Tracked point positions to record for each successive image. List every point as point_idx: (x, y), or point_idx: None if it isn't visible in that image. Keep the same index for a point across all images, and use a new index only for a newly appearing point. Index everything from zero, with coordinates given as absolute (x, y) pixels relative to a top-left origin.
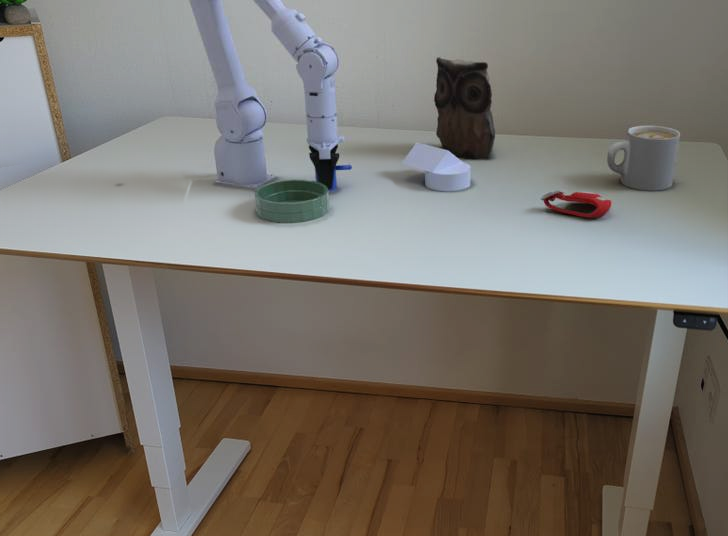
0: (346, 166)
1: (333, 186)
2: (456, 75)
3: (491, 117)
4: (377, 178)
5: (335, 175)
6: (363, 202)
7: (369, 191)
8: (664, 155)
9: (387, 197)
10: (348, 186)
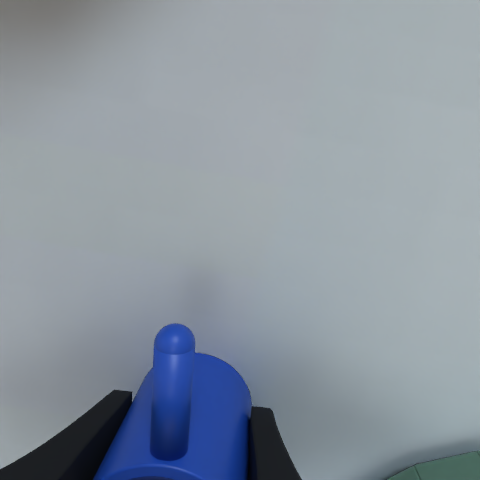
0: (183, 376)
1: (236, 396)
2: None
3: None
4: (23, 71)
5: (205, 419)
6: (464, 246)
7: (273, 173)
8: None
9: (427, 75)
10: (151, 281)
